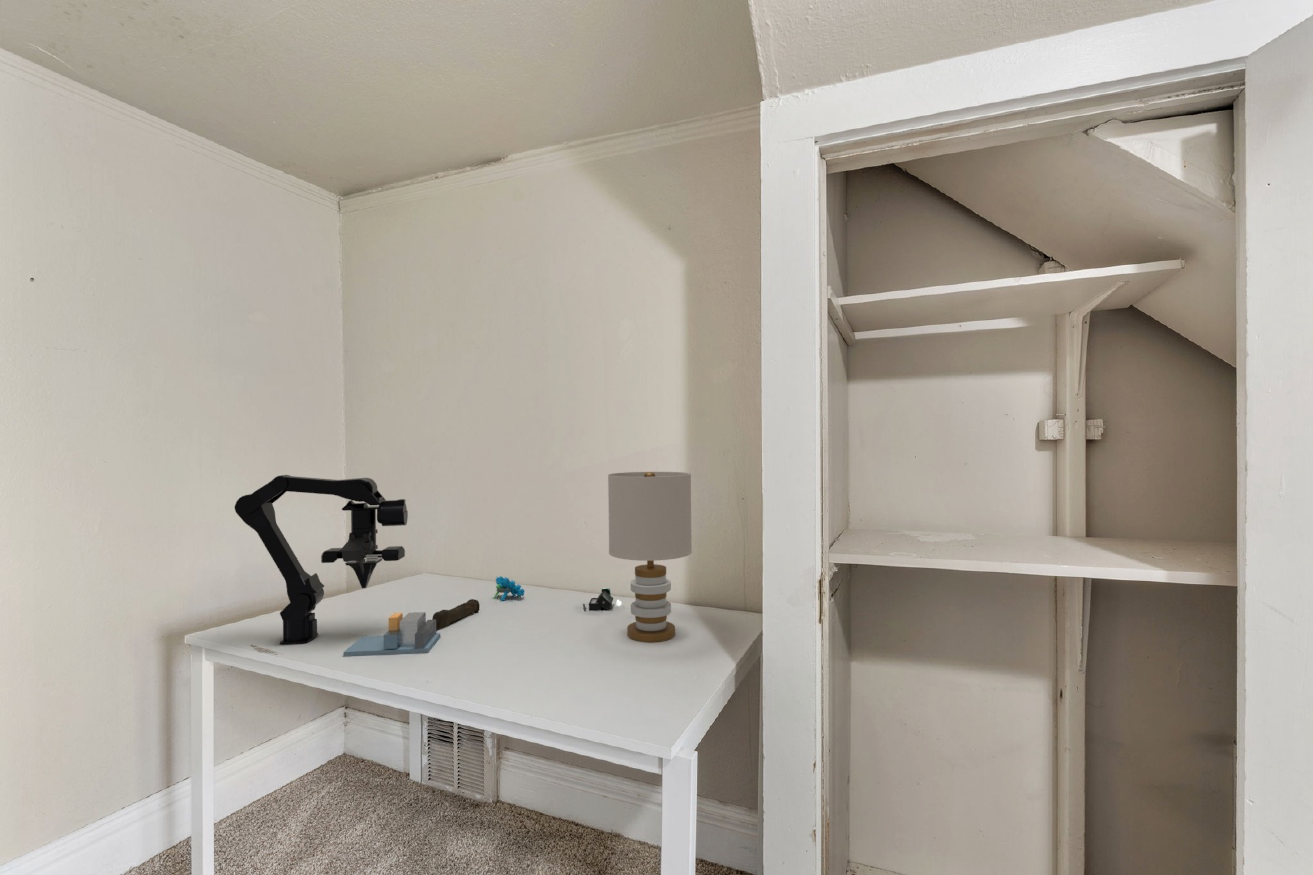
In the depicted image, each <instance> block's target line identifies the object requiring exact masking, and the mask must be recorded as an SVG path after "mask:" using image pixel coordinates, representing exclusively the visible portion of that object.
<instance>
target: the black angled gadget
mask: <svg viewBox="0 0 1313 875" xmlns="http://www.w3.org/2000/svg"><path fill="white" fill-rule="evenodd" d="M600 591H601V592H600V594H599V595H598V597H591V599H590V601H589V603H588V612H589V611H592V612H593V611H595V612H596V611H597V612H599V611H602V608H603V609H604V611H607V610H608V609H609V608H610V606H611V605H612V603H613V602H614V597H613V596H612V595H611V588H610V587H606V588H605V587H604V588H601V590H600ZM582 605H583V607H582V609H583V611H584V612H587V607H586V605H585V603H582ZM615 605H616V606H618V607H620V606H622V601H621V600H619V599H617V600H616V604H615Z"/></svg>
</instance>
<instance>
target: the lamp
mask: <svg viewBox="0 0 1313 875" xmlns="http://www.w3.org/2000/svg"><path fill="white" fill-rule="evenodd" d="M607 475H608V477H607V478H608V480H607V481H608V482H607V483H608V486H607V488H608V489H607V490H608V494H607V498H608V554H609V556H611V557H613V558H617V559H621V560H628V561H643V562H645V561H646V564H640V565H636V566H635V567H634V576H635V577H634V578H635V579H632V580H631V581H630V592H632V593H634V596H635V601H633V602H631V603H630V613H631V615H633V616H635V617H634V618H635V621H633V622H632V623H629V624H628V625H627V626H626V628H627V631H626V632H627V633H626V634H627V638H629V639H631V640H633V641H637V642H641V643H660V642H665V641H668V640H671V639H673V638H674V637H675V636H676V626H675V624H674V623H672V622H669V621H667V619H668V616H669V615H670V614H671V613H672V603H671V602H670V601H668V600H667V596H668V595H667V593H668V592H670V591H672V581H671V580H670V579H667V566H665V565H663V564H657V563H655V561H668V560H674V559H675V560H676V559H680V558H685V557H687V556H690V555H692V552H693V548H692V546H693V545H692V542H693V541H692V473H690V472H684V471H683V472H681V471H631V472H629V471H628V472H627V471H625V472H615V473H613V472H612V473H609V474H607Z"/></svg>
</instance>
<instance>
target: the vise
mask: <svg viewBox="0 0 1313 875" xmlns="http://www.w3.org/2000/svg"><path fill="white" fill-rule="evenodd" d="M440 639H441V633H440V632H437V630H436V620H432V619H427V620H426V623H425V624H424V625H423V626H422V627H421V628H420V629H419V630H418V631H417V632H416V633H415V646H402V647H400V646H399V647H398V648H396V649H384V636H383V635H366V636H365V635H363V636H361V637H359V638H358V639H357V640H356V641H355V642H354V643H352V644H351V645H350V646H348V647H347V648H346V649H345V650H344V651H343V655H342V656H343V657H359V656H383V655H385V656H386V655H398V654H399V655H404V654H406V655H407V654H424V653H425V654H427V653H429V652H430V651H431V650H432V648H433V647H434V646H435V645H436V644H437V642H438V641H439V640H440Z"/></svg>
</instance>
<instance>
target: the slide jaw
mask: <svg viewBox="0 0 1313 875" xmlns="http://www.w3.org/2000/svg"><path fill="white" fill-rule="evenodd" d="M403 614H404V612H394V613H393V614H391V615H390V616H389V617H388V631H386V632H385V633H384V634H383V635H382V636H384V649H396V648H398V647H399V646H400V621H401V620H402V619H403V618H404V616H403Z"/></svg>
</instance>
